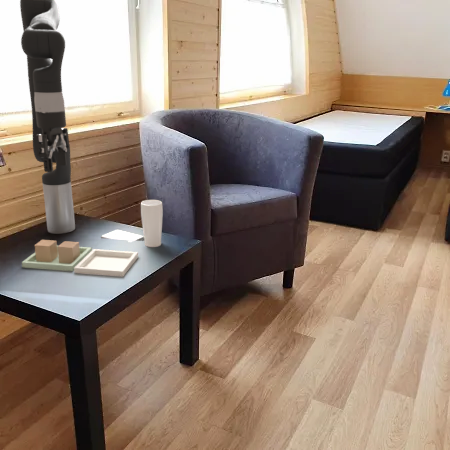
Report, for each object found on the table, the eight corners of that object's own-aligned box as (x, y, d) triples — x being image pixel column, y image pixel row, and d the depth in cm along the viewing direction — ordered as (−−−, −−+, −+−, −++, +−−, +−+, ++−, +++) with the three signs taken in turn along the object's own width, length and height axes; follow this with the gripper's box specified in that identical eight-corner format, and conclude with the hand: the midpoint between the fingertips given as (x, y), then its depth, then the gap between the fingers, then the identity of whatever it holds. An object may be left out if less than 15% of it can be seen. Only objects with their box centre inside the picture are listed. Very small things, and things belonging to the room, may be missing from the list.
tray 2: (94, 256, 145) (93, 249, 144) (138, 259, 144) (138, 252, 143) (74, 276, 132) (74, 267, 131) (123, 279, 131) (122, 271, 130)
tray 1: (46, 251, 148) (45, 244, 147) (92, 255, 146) (91, 247, 146) (22, 270, 135) (21, 262, 134) (72, 274, 133) (72, 266, 132)
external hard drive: (128, 247, 154) (101, 239, 160) (145, 240, 161) (118, 233, 167) (128, 243, 154) (100, 235, 160) (145, 235, 160) (117, 228, 166)
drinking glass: (159, 251, 150) (158, 206, 145) (139, 249, 151) (137, 204, 146) (166, 243, 156) (165, 200, 151) (146, 242, 158) (144, 198, 153)
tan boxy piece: (43, 255, 143) (42, 239, 141) (58, 256, 143) (56, 240, 141) (36, 261, 139) (34, 245, 137) (50, 262, 138) (49, 246, 137)
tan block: (66, 256, 142) (64, 241, 141) (80, 257, 142) (78, 242, 140) (59, 262, 138) (57, 246, 136) (73, 263, 138) (72, 247, 136)
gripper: (49, 106, 135) (55, 162, 140) (23, 111, 122) (30, 173, 127) (74, 107, 134) (79, 163, 139) (50, 112, 121) (57, 174, 126)
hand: (56, 168), depth 133 cm, fingers open, 8 cm apart
